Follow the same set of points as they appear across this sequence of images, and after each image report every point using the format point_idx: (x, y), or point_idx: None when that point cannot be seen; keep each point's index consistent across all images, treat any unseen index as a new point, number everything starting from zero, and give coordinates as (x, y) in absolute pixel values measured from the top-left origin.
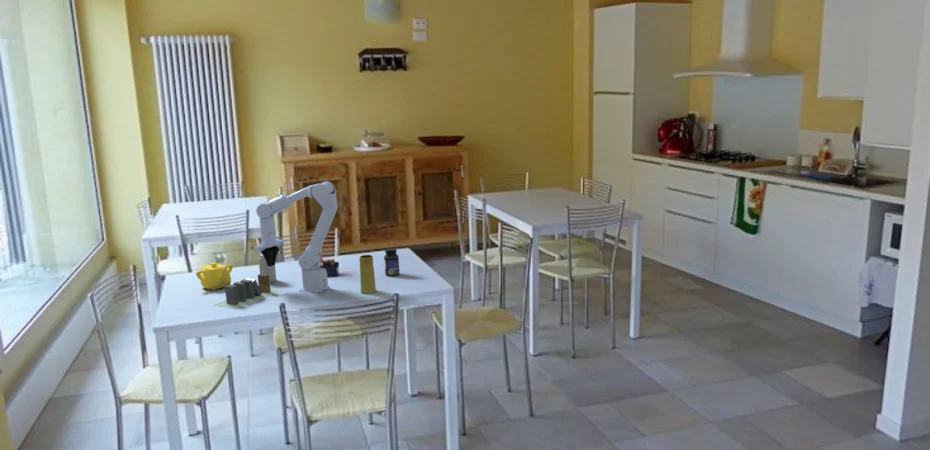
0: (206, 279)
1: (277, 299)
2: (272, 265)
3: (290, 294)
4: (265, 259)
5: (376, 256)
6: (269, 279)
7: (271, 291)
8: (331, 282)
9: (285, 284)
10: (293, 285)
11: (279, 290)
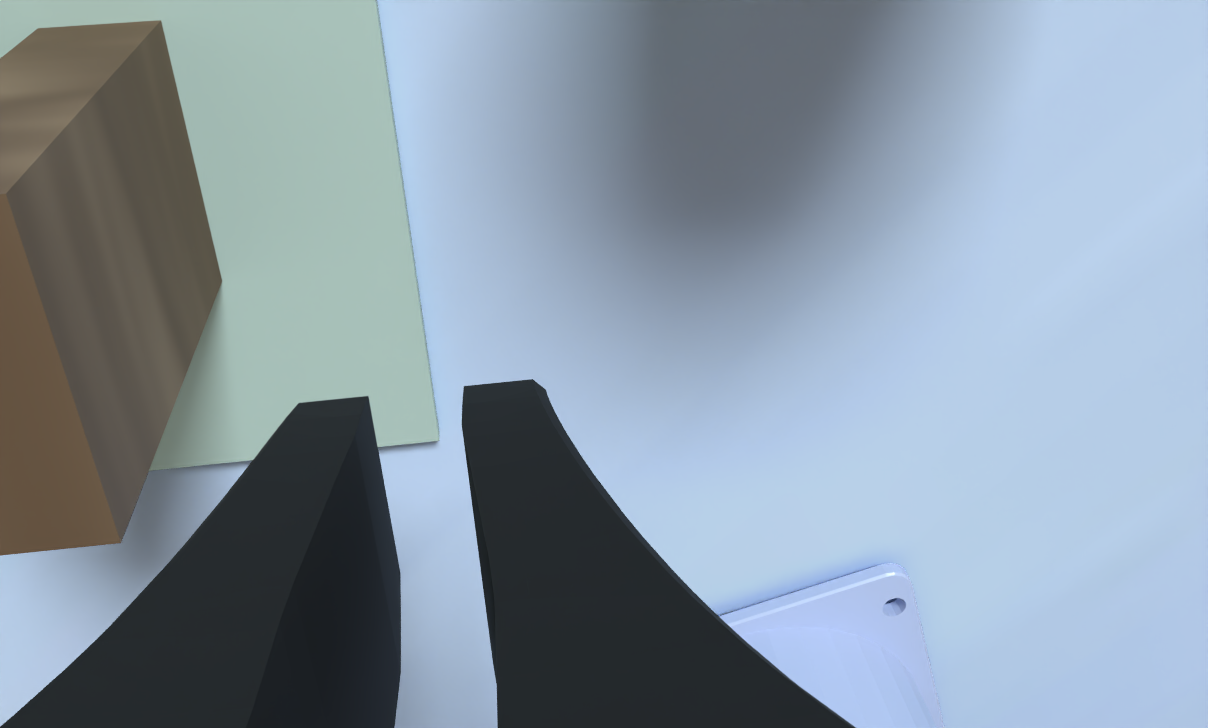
0: None
1: (35, 689)
2: (393, 599)
3: None
4: (143, 610)
5: None
6: (155, 450)
7: (252, 273)
8: (1201, 680)
9: (876, 59)
10: (864, 284)
11: (406, 363)
